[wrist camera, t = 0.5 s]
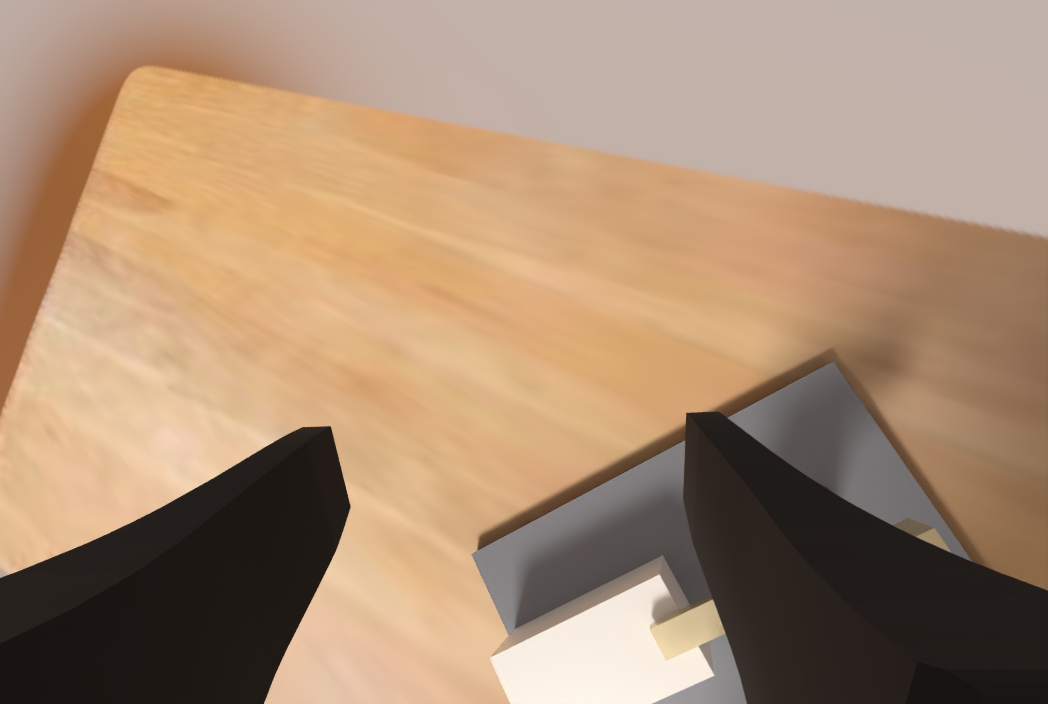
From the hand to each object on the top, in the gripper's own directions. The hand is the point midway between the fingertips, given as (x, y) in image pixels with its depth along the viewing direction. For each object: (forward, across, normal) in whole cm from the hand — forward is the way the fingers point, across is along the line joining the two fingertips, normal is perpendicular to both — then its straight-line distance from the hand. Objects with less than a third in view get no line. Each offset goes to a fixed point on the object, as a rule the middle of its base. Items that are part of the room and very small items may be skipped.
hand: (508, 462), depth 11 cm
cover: (+14, -3, +21) cm, 26 cm away
